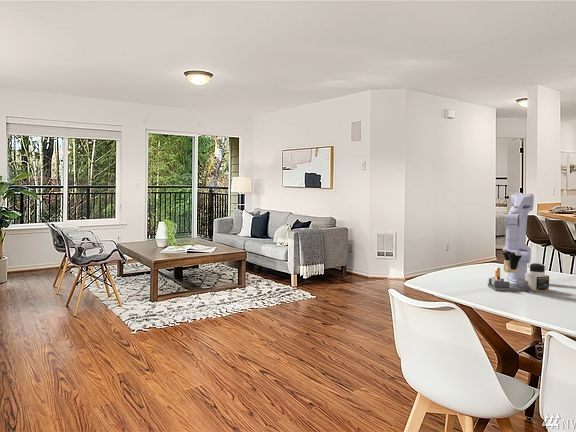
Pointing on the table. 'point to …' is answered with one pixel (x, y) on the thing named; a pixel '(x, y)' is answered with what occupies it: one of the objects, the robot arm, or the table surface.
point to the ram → (496, 276)
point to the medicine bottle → (537, 278)
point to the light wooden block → (508, 268)
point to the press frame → (510, 285)
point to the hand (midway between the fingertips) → (511, 268)
